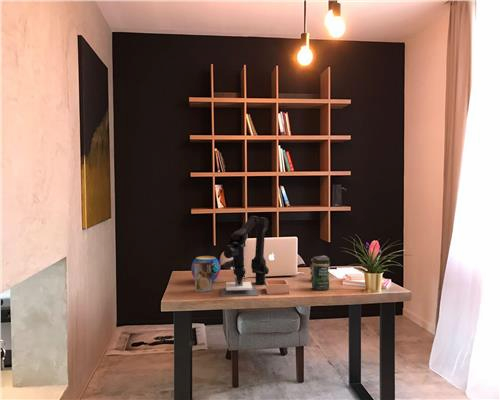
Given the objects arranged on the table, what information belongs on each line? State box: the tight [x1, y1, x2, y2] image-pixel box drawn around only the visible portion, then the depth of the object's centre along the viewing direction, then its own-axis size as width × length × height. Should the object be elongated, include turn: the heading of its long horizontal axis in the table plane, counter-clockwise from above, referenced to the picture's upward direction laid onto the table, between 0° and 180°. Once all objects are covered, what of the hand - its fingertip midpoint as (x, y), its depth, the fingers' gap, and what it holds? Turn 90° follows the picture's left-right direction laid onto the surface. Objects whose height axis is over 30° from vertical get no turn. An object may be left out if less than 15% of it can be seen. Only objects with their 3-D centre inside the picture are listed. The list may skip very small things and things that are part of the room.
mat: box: [220, 286, 259, 297], centre depth 233 cm, size 17×20×1 cm
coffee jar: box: [311, 255, 331, 291], centre depth 239 cm, size 10×8×19 cm
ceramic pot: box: [191, 255, 221, 282], centre depth 257 cm, size 18×18×15 cm
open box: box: [264, 279, 290, 295], centre depth 235 cm, size 12×12×5 cm
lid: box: [225, 275, 253, 290], centre depth 233 cm, size 14×14×6 cm
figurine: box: [309, 255, 330, 280], centre depth 259 cm, size 9×12×15 cm
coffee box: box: [194, 261, 213, 293], centre depth 237 cm, size 9×6×16 cm
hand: (238, 283), depth 233 cm, fingers closed on lid, 4 cm apart
